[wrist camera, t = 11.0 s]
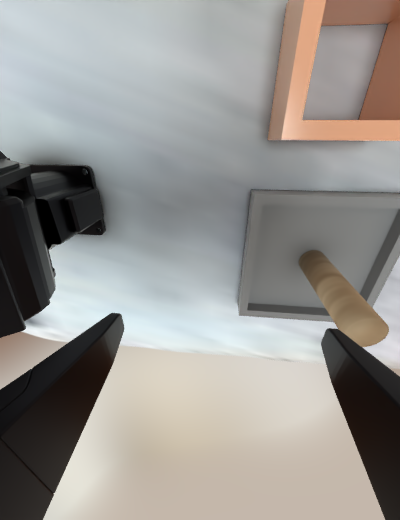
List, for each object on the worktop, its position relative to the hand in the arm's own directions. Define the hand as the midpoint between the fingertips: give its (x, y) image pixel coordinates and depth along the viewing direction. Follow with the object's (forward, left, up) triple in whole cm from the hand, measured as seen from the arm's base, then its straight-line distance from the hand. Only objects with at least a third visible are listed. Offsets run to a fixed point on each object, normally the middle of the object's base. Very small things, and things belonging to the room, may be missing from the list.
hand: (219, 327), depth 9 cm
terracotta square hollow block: (+7, +11, -13) cm, 18 cm away
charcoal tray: (+9, -3, -13) cm, 16 cm away
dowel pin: (+9, -3, -12) cm, 15 cm away
